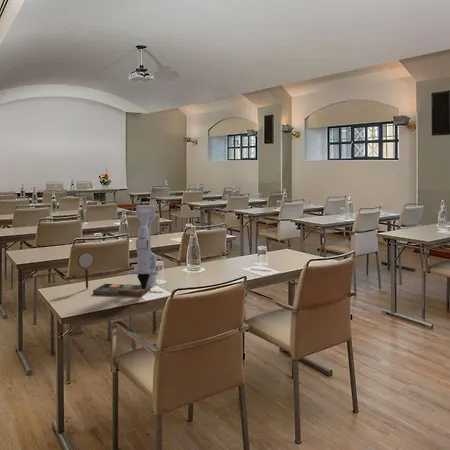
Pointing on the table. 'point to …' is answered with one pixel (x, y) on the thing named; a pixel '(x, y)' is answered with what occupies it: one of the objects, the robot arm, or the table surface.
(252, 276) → the table surface
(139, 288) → the brown tray
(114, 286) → the terracotta tile
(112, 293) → the box
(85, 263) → the magnifying glass
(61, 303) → the table surface
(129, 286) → the sage tile
